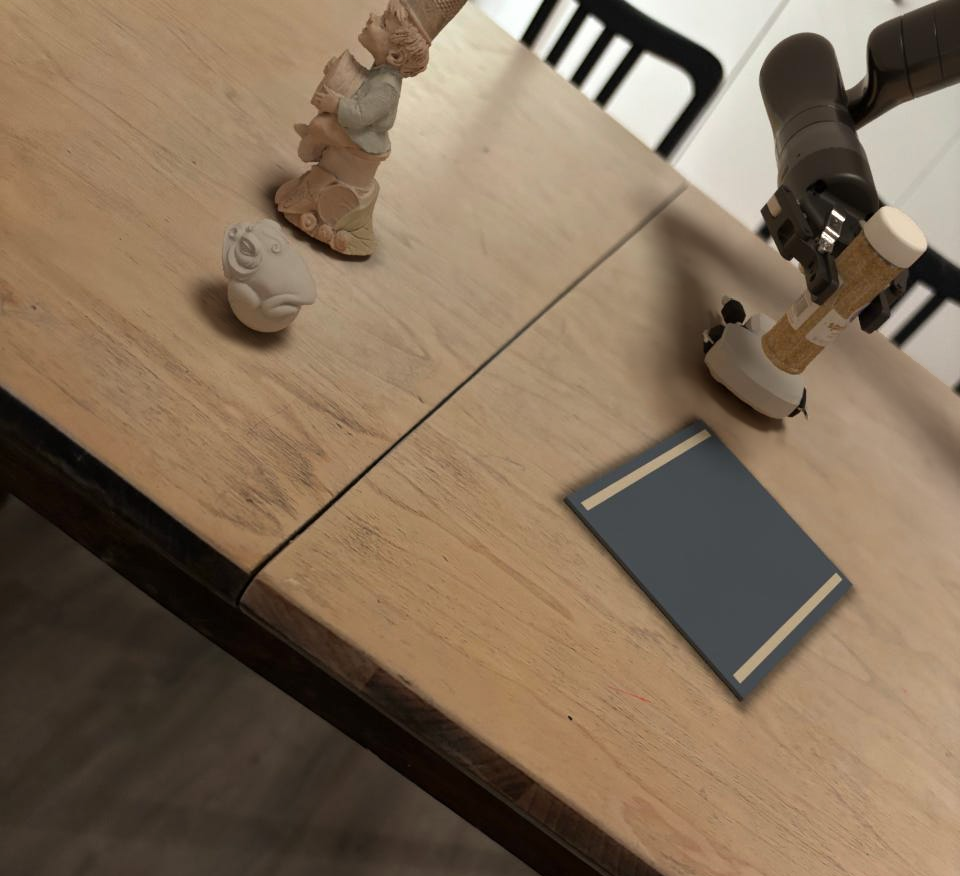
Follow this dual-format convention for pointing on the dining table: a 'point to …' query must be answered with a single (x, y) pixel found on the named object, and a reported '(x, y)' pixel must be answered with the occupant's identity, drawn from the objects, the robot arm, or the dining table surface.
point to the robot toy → (751, 364)
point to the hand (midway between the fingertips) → (851, 309)
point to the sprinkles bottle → (846, 290)
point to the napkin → (713, 553)
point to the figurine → (359, 125)
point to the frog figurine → (265, 275)
